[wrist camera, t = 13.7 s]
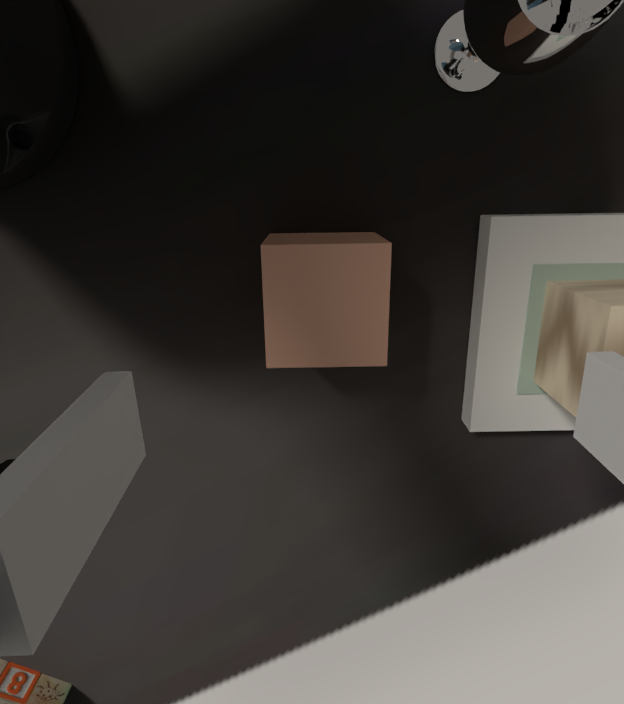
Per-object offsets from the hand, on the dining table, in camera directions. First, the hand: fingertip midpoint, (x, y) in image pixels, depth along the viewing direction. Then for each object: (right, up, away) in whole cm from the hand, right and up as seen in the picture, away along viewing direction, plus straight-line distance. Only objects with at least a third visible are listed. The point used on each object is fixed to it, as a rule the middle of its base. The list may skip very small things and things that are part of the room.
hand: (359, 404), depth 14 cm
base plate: (+17, +4, +20) cm, 27 cm away
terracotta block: (-1, +6, +19) cm, 21 cm away
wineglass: (+8, +20, +15) cm, 26 cm away
